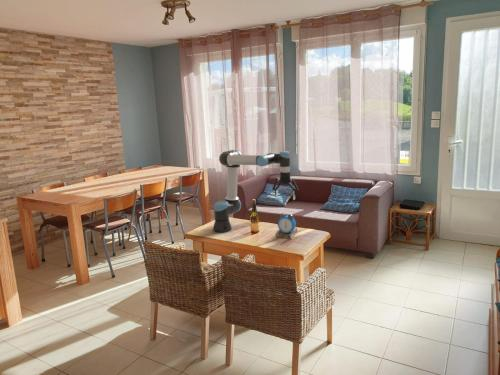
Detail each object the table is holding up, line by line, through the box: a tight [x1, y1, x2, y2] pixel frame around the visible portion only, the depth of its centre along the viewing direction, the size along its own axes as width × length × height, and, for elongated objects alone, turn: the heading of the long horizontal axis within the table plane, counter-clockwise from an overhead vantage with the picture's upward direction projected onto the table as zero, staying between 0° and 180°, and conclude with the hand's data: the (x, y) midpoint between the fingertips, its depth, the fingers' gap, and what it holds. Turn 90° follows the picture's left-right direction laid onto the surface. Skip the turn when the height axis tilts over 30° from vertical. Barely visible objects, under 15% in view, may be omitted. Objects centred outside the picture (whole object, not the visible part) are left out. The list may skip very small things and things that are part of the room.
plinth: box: [275, 227, 298, 240], centre depth 315 cm, size 12×18×4 cm
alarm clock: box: [277, 212, 297, 233], centre depth 313 cm, size 13×6×15 cm, turn 63°
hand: (285, 199), depth 310 cm, fingers open, 13 cm apart
